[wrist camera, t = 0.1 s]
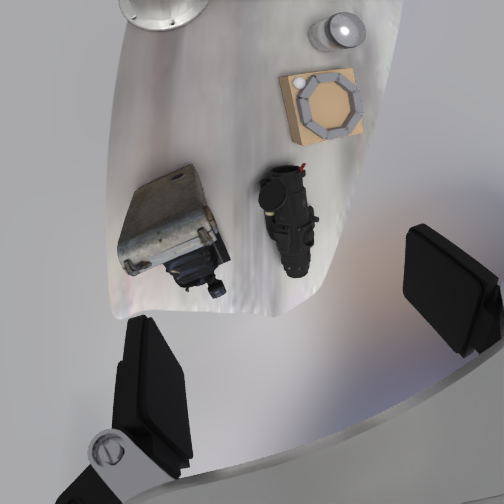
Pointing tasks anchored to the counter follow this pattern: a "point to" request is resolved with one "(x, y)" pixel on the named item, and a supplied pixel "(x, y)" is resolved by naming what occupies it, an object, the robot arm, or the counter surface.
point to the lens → (337, 32)
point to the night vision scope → (289, 217)
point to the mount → (322, 105)
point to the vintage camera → (173, 232)
